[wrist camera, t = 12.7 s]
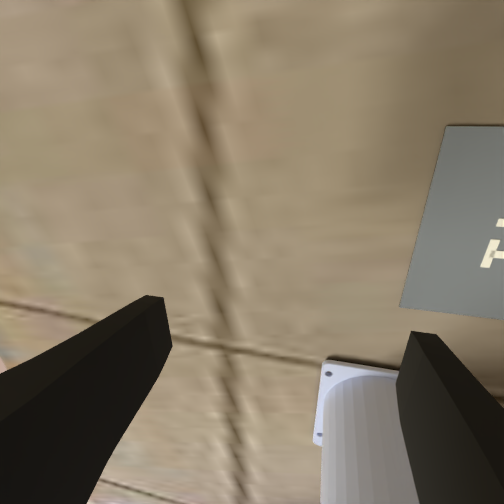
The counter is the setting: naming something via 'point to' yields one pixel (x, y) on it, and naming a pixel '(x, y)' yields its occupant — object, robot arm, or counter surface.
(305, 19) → the counter surface
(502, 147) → the tile
